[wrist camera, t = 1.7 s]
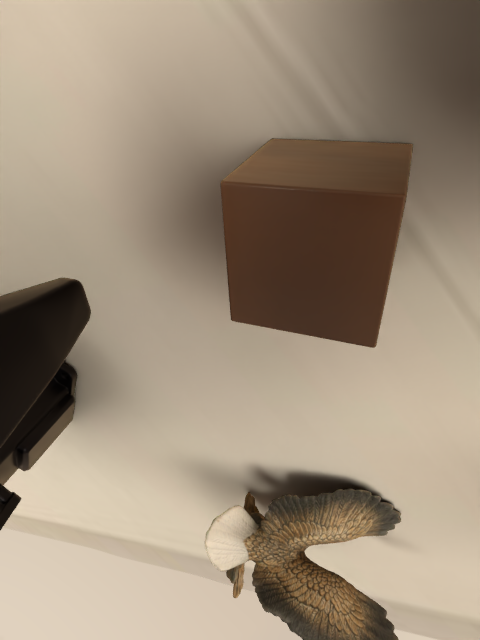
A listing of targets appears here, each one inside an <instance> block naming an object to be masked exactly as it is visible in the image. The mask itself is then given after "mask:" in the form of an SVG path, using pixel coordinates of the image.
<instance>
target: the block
mask: <svg viewBox="0 0 480 640" xmlns="http://www.w3.org/2000/svg"><path fill="white" fill-rule="evenodd" d="M412 151H413V145H412V144H401V143H375V142H349V141H322V140H296V139H271V140H270V141H268V142H267V143H266V144H265V145H264V146H262V147H261V148H260V149H259V150H258V151H256V152H255V153H254V154H253V155H252V156H251V157H249V158H248V159H247V160H246V161H245V162H243V163H242V164H241V165H240V166H239V167H237V168H236V169H235V170H234V171H233V172H232V173H230V174H229V175H228V176H227V177H226V178H224V179H223V180H222V181H221V197H222V210H223V222H224V235H225V248H226V261H227V274H228V286H229V299H230V312H231V320H232V321H235V322H240V323H246V324H251V325H256V326H261V327H267V328H272V329H277V330H283V331H288V332H293V333H298V334H304V335H309V336H314V337H319V338H325V339H330V340H335V341H341V342H346V343H351V344H356V345H362V346H367V347H372V348H374V347H375V346H376V344H377V339H378V334H379V329H380V324H381V319H382V314H383V309H384V305H385V300H386V295H387V290H388V285H389V280H390V275H391V271H392V266H393V261H394V256H395V251H396V246H397V241H398V236H399V232H400V227H401V222H402V217H403V212H404V207H405V202H406V197H407V190H408V182H409V174H410V166H411V158H412Z"/></svg>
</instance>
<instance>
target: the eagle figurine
mask: <svg viewBox="0 0 480 640" xmlns="http://www.w3.org/2000/svg"><path fill="white" fill-rule="evenodd" d="M371 495H372V494H371V492H369V491H365V490H354V489H351V488H350V489H346V490H342V489H337V490H336V491H335V492H333V493H321V494H319V495H318V496H317V497H316V496H313V495H311V496H309V497H308V496H303V497H301V498H299V497H298V496H297V495H294V496H292V495H290V494H288V495H286V496H282V497H280V498H279V499H274V500H272V503H270V504H269V506H268V508H269V511H268V512H266V514H265V517H264V516H263V515H262V514H260V513H259V511H258V509H257V507H256V506H255V498H254V497H253V496H251V494H250V492H248V493H247V495H246V498H245V505H244V508H242V507H241V506H234V507H232V508H229V509H228V510H227V511H225V512H224V513H223V514H221V515H220V516H218V517H216V518H215V519H214V520H213V522H212V524H211V527H210V528H209V530H208V531H207V533H206V540H205V547H206V551H207V555H208V557H209V558H210V560H211V563H212V564H213V565H214V566H215V567H216V568H217V569H218V570H219V571H227V577H228V578H229V579H230V581H231V583H234V588H233V597H234V598H237V597H238V596H239V594H240V592H241V589H242V587H243V574H244V563H245V562H247V561H249V560H252V561H254V562H255V563H256V565H255V568H254V572H253V574H252V577H253V581H252V584H253V586H255V592H256V593H257V596H258V598H259V601H260V603H261V604H262V607H263V609H264V610H265V611H266V612H270V613H272V614H273V615H275V616H279V617H280V618H281V620H282V621H283V622H285V623H287V625H288V627H289V629H290V630H291V631H292V632H295V633H296V634H297V635H298V636H300V637H301V638H302V639H303V640H398V637H397V636H396V635H395V634H394V632H393V631H394V625H393V624H392V623H391V622H390V621H389V620H388V619H386V615H387V611H386V610H385V609H384V608H383V607H381V606H380V605H379V604H378V603H376V602H375V601H373V600H372V599H370V598H369V597H367V596H366V595H365V594H363V593H362V592H360V591H359V590H357V589H356V588H355V587H354V586H353V585H351V584H350V583H348V582H347V581H346V580H345V579H344V578H342V577H341V576H339V575H337V574H335V573H334V572H331V571H328V570H326V569H324V568H322V567H320V566H319V565H317V564H316V563H314V562H312V561H311V560H310V559H309V558H307V557H306V555H305V552H304V551H305V550H306V548H308V547H309V546H311V545H318V544H328V543H337V542H346V541H349V540H352V539H356V538H358V537H361V536H383V535H386V534H387V531H389V530H392V529H394V528H395V525H394V524H397V523H400V522H401V519H400V518H399V516H400V515H401V513H400V512H399V511H396V510H394V509H393V508H394V507H393V506H392V505H391V504H390V503H386V502H380V500H381V497H380V496H371Z"/></svg>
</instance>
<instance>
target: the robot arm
mask: <svg viewBox="0 0 480 640" xmlns="http://www.w3.org/2000/svg"><path fill="white" fill-rule="evenodd" d="M90 315H91V309H90V306H89V303H88V300H87V297H86V294H85V291H84V288H83V285H82V284H81V283H80V281H78V280H75V279H70V278H58V279H55V280H52V281H49V282H45V283H42V284H39V285H36V286H32V287H29V288H26V289H23V290H19V291H16V292H13V293H9V294H6V295H3V296H0V530H1V529H2V527H3V526H4V524H5V523H6V521H7V520H8V518H9V517H10V515H11V514H12V512H13V511H14V509H15V508H16V506H17V505H18V503H19V502H20V500H21V497H19V496H18V495H17V494H16V493H14V492H10V491H9V490H8V489H6V488H5V487H4V486H3V485H4V484H5V483H6V482H7V480H8V479H9V478H10V477H11V476H12V475H13V474H14V473H15V472H16V470H17V469H18V468H19V469H21V470H23V471H26V470H29V469H30V468H31V467H32V466H33V465H34V464H35V463H36V461H37V460H38V459H39V458H40V457H41V456H42V454H43V453H44V452H45V451H46V450H47V449H48V447H49V446H50V445H51V444H52V443H53V442H54V441H55V439H56V438H57V437H58V436H59V435H60V434H61V432H62V431H63V430H64V429H65V428H66V427H67V425H68V424H69V423H70V422H71V421H72V419H73V413H74V406H75V398H74V394H75V386H76V379H77V373H76V372H75V370H74V369H73V368H71V367H70V366H68V365H66V364H65V363H63V362H64V360H65V359H66V357H67V355H68V354H69V352H70V350H71V349H72V347H73V346H74V344H75V342H76V341H77V339H78V337H79V336H80V334H81V332H82V331H83V329H84V327H85V326H86V324H87V322H88V321H89V319H90Z"/></svg>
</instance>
